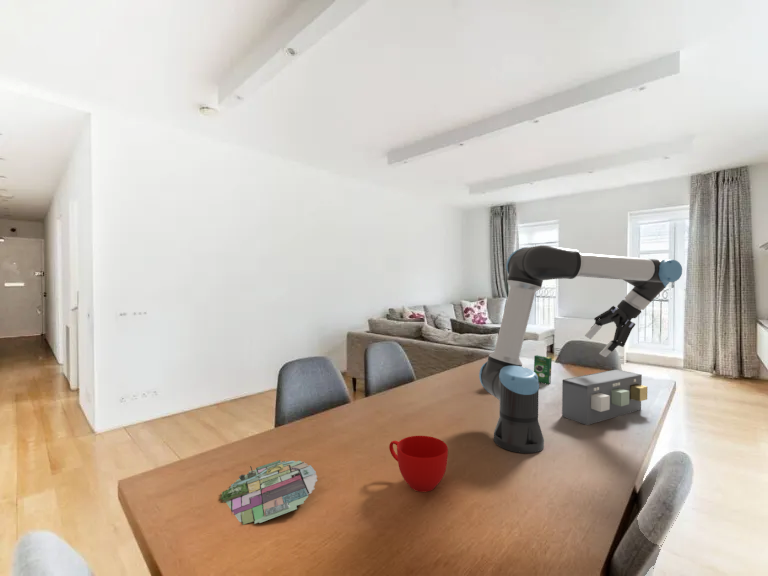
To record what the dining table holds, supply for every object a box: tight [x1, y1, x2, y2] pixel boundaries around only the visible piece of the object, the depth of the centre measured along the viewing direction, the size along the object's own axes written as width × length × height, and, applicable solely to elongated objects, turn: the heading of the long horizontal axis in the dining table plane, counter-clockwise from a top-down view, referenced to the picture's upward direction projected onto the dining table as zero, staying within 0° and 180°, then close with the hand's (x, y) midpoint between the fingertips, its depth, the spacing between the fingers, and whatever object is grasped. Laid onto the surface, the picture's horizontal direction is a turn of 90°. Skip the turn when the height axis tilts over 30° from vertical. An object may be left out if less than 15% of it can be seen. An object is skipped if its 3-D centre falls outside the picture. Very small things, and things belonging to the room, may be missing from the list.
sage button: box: [611, 388, 629, 406], centre depth 142 cm, size 6×5×5 cm
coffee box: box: [533, 354, 553, 385], centre depth 189 cm, size 8×3×13 cm, turn 44°
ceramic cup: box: [388, 435, 449, 493], centre depth 98 cm, size 13×17×10 cm
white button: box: [591, 393, 610, 412], centre depth 136 cm, size 6×5×5 cm
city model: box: [219, 459, 318, 525], centre depth 92 cm, size 25×24×6 cm
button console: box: [561, 368, 642, 426], centre depth 147 cm, size 10×34×14 cm, turn 118°
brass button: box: [630, 384, 648, 402], centre depth 148 cm, size 6×5×5 cm
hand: (594, 346), depth 151 cm, fingers open, 13 cm apart
